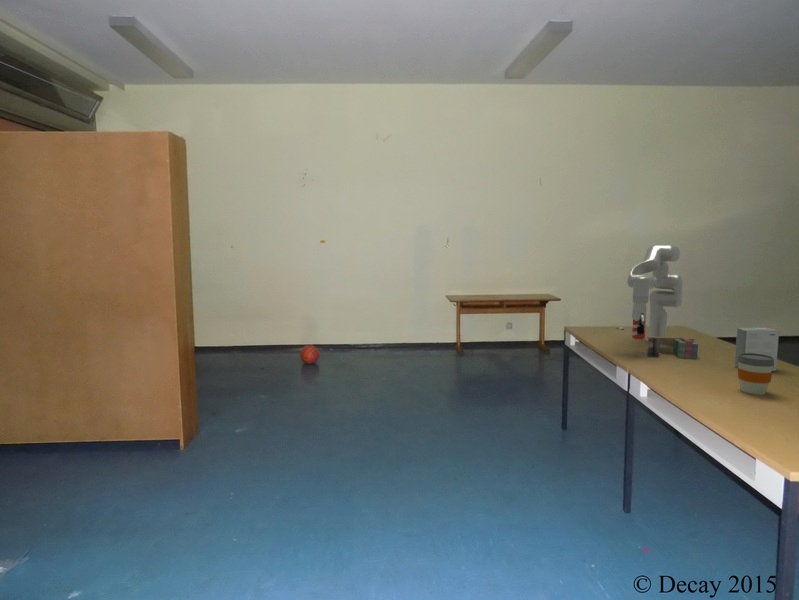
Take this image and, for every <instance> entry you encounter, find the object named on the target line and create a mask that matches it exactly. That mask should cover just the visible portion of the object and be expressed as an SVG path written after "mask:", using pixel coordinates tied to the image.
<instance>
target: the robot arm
mask: <svg viewBox="0 0 799 600" xmlns="http://www.w3.org/2000/svg"><path fill="white" fill-rule="evenodd" d="M680 256H681V251H680V249H679V247H678V246H677V245H673V244H652V245H649V247H648V248H647V249H646V253H645V256H644V259H643V261H641V262H639V263H638V264H636V265H635V266H633V267H632V268H631V269H630V272H629V274H628V276H627V286H628V287H629V288H632V289H633V290H632V313H631V314H632V315H631V319H632V320H633V319H634V320H635V321H637V320H638V326H637V334H644V322H645V321H646V319H647V304H648V303H649V326H648V337H667V325H668V323H667V322H668V312H667V311H666V309H665V308H679V307H681V305H682V301H683V277H682V276H681V275H680V274H679V273H670V271H669V269H670V267H669V263H668V262H677V261H678V260H679V259H680ZM648 273H652V274H648ZM650 289H651V290H652V289H658V290H653V291H651V292H650ZM659 289H660V290H659ZM639 320H641V321H639ZM646 322H647V321H646ZM648 337H645V341H646V342H647V343H648Z"/></svg>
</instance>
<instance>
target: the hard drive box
mask: <svg viewBox="0 0 799 600" xmlns="http://www.w3.org/2000/svg"><path fill="white" fill-rule="evenodd" d="M779 337H780V331H779V330H777V329H774V328H769V327H737V328H736V340H735V341H736V343H735V356H734V357H735V358H734V367H735V368H737V369H738V367H739V363H738V356H739V354H741V353H754V354H762V355H767V356H771V357H773V358H774V366H773V368H772V371H773V372H776V371H777V362H778V350H779V339H780V338H779Z"/></svg>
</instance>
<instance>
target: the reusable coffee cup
mask: <svg viewBox="0 0 799 600" xmlns="http://www.w3.org/2000/svg"><path fill="white" fill-rule="evenodd" d="M738 363H739V367H738V368H737V378H738V380H739V390H740V391H741V392H743V393H745V394H751V395H757V396H758V395H759V396H761V395H766V394H767V390H768V386H769V384H770V383H771V380H772V376H773V372H774V371H772V368H773V366H774V358H773V357H771V356H767V355H762V354H754V353H741V354H739V356H738Z"/></svg>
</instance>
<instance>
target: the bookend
mask: <svg viewBox="0 0 799 600" xmlns="http://www.w3.org/2000/svg"><path fill="white" fill-rule="evenodd" d="M659 351H660V341H659V340H658V339H656V338H655V337H654V338H653V353H650V352H647V351H646V352H645V351H643V352H642V354H643V355H644V356H646V357H647V358H657V357H659V358H660V354H659Z"/></svg>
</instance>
